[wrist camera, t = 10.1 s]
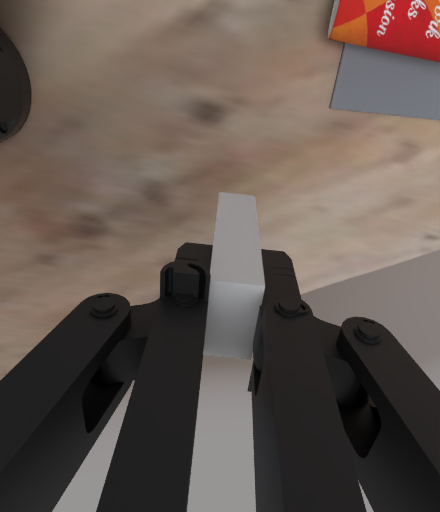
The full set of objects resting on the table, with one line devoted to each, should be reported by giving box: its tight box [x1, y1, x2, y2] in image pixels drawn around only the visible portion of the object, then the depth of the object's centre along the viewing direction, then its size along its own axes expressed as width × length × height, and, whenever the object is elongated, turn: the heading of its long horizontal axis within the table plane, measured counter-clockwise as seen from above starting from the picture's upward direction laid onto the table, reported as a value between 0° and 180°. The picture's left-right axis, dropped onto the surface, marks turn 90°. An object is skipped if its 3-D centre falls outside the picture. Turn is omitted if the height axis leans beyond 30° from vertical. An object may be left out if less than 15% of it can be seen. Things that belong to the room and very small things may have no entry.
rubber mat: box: [329, 43, 440, 120], centre depth 39 cm, size 16×18×1 cm
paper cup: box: [328, 0, 440, 63], centre depth 35 cm, size 8×8×14 cm
